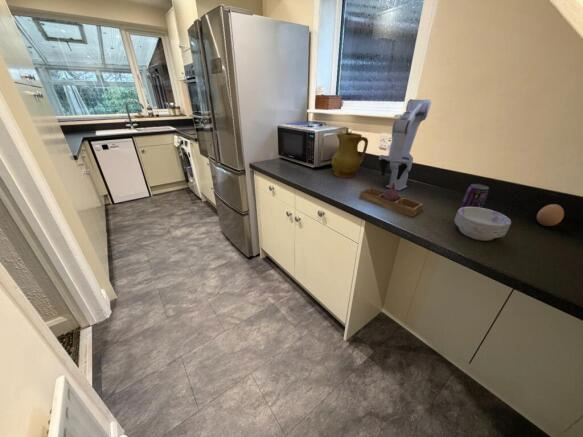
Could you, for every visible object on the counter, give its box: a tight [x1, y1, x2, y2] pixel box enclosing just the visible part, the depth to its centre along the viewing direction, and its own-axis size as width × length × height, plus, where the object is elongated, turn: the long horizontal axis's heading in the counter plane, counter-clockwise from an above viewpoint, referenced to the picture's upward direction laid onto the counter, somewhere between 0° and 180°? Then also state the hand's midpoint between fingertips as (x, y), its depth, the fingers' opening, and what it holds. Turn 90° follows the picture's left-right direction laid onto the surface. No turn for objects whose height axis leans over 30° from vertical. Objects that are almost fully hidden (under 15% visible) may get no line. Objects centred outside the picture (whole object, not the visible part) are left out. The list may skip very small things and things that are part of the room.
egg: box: [536, 203, 565, 227], centre depth 90 cm, size 7×7×9 cm
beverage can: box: [459, 183, 490, 209], centre depth 98 cm, size 7×7×12 cm
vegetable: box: [383, 182, 399, 202], centre depth 105 cm, size 6×6×10 cm
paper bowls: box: [454, 207, 512, 242], centre depth 83 cm, size 15×15×8 cm
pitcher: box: [331, 131, 369, 179], centre depth 140 cm, size 17×19×25 cm
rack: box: [359, 187, 424, 218], centre depth 107 cm, size 9×26×4 cm, turn 41°
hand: (390, 177), depth 112 cm, fingers open, 7 cm apart
